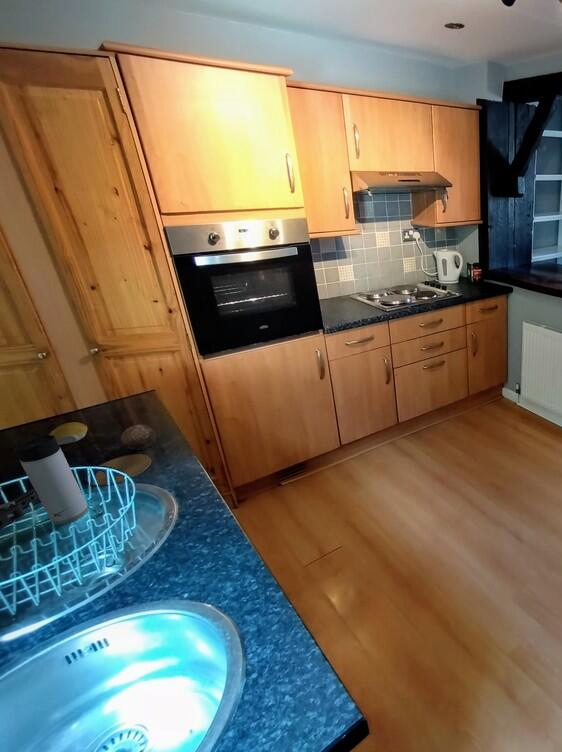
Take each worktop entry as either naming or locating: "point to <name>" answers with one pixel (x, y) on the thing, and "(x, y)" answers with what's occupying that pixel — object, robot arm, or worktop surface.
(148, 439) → the mushroom
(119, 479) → the cork coaster
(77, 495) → the travel mug
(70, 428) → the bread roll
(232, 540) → the worktop surface
